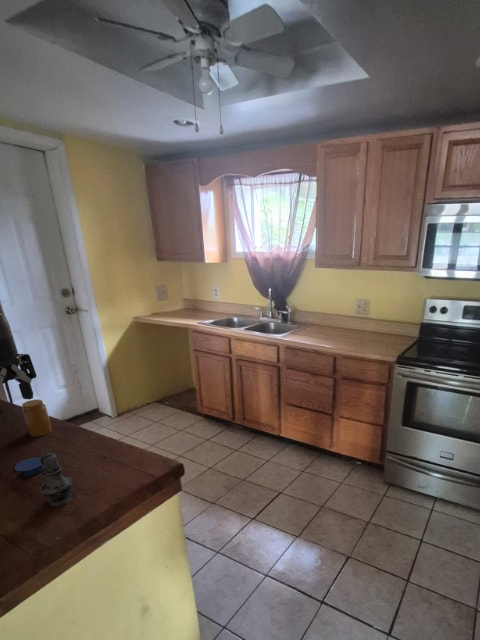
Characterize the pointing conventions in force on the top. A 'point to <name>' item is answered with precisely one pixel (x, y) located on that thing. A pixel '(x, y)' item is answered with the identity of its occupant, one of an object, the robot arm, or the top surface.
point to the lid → (29, 467)
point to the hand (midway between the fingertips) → (13, 406)
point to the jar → (36, 418)
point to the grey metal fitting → (55, 482)
